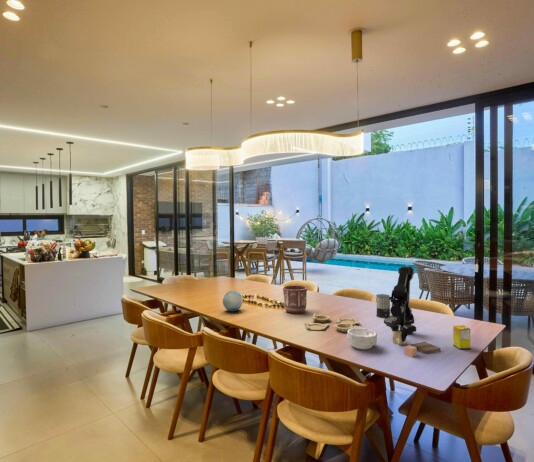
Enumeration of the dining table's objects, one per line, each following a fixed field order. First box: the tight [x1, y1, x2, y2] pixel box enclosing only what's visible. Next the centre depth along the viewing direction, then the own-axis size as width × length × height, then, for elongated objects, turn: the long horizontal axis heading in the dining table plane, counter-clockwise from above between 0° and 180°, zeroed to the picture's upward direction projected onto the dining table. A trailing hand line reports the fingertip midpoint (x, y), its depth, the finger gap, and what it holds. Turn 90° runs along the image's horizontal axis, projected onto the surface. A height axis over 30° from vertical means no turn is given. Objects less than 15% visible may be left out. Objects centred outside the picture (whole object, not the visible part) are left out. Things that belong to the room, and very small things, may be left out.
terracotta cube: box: [404, 344, 418, 358], centre depth 170 cm, size 4×4×4 cm
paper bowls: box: [346, 327, 378, 350], centre depth 182 cm, size 15×15×8 cm
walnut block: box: [410, 341, 441, 355], centre depth 178 cm, size 10×10×2 cm
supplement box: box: [452, 324, 471, 350], centre depth 179 cm, size 6×6×11 cm
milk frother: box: [375, 293, 394, 319], centre depth 242 cm, size 14×16×15 cm
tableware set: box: [303, 312, 361, 333], centre depth 219 cm, size 35×29×4 cm
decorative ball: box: [222, 290, 244, 312], centre depth 255 cm, size 15×15×15 cm
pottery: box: [282, 284, 308, 315], centre depth 253 cm, size 18×18×18 cm
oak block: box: [392, 329, 407, 346], centre depth 186 cm, size 5×5×6 cm
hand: (399, 340), depth 186 cm, fingers closed on oak block, 5 cm apart
